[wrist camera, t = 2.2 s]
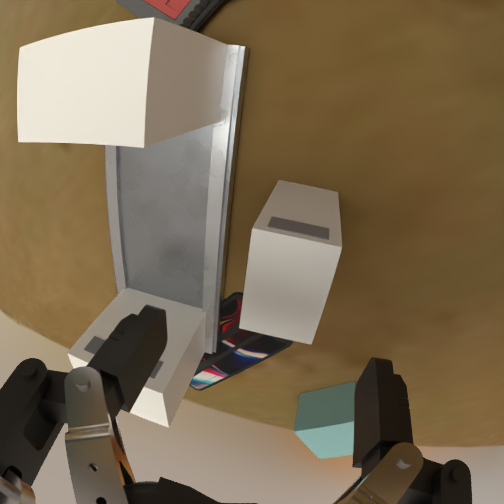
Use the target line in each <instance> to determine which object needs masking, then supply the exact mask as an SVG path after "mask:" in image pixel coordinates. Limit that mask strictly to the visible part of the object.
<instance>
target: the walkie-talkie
mask: <svg viewBox="0 0 504 504" xmlns="http://www.w3.org/2000/svg"><path fill="white" fill-rule="evenodd" d="M223 1H225V0H116V2H117V3H118V4H120V5H121V6H123V7H124V8H126V9H128V10H129V11H131V12H132V13H134V14H135V15H137V16H138V17H140V18H141V19H143V18H152V17H155V18H158V19H161V20H164V21H167V22H170V23H173V24H176V25H179V26H182V27H184V28H187V29H190V30H192V31H195V32H196V31H197V30H199V28H200V27H201V25H202V24H204V23H205V21H206V20H207V18H209V17H210V15H211V14H212V13H213V12H214V11H215V9H216V8H217V7H218V6H220V5H221V3H222V2H223Z"/></svg>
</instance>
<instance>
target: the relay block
mask: <svg viewBox="0 0 504 504" xmlns="http://www.w3.org/2000/svg"><path fill="white" fill-rule="evenodd" d="M355 388H356V383H355V381H353V382H349V383H345V384H341V385H337V386H332V387H328V388H324V389H319V390H314V391H310V392H305V393H300V396H299V403H298V408H297V414H296V420H295V426H294V433H295V434H296V435H297V436H298V437H299V438H300V439H301V440H302V441H303V442H304V443H305V444H306V445H307V447H308V448H309V449H310V450H311V451H312V452H313V453H314V454H315V455H316V456H317V457H318V458H319V459H324V458H331V457H338V456H345V455H351V454H353V445H354V393H355Z"/></svg>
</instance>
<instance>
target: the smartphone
mask: <svg viewBox="0 0 504 504" xmlns="http://www.w3.org/2000/svg"><path fill="white" fill-rule="evenodd" d="M242 302H243V293H240V292H237V293H233V294H232V295H230V296H229V297H228V298H226V299H225V300H224V301H223V303H222V312H221V325H220V338H219V347H218V349H217V351H216V353H215V352H213V353H212V354H210V353H206V352H204V355H203V357H202V359H201V361H200V363H199V365H198V367H197V369H196V371H195V374H194V376H193V378H192V380H191V382H190V384H189V385H190V386H191V387H192V388H194V389H196V390H204V389H206V388H208V387H210V386H213V385H215V384H217V383H219V382H221V381H223V380H225V379H227V378H229V377H231V376H233V375H236V374H238V373H240V372H242V371H244V370H246V369H248V368H250V367H251V366H253V365H255V364H257V363H259V362H261V361H263V360H265V359H267V358H269V357H271V356H273V355H275V354H276V353H278V352H280V351H282V350H284V349H286V348H287V347H289V346H291V344H292V343H293V341H292V340H288V339H283V338H279V337H274V336H270V335H266V334H261V333H257V332H253V331H249V330H245V329H241V328H239V325H240V317H241V309H242Z"/></svg>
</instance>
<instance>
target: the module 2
mask: <svg viewBox="0 0 504 504" xmlns="http://www.w3.org/2000/svg"><path fill="white" fill-rule="evenodd" d="M145 305H151V306H154V307H158V308H161V309H164V310H165V311H166V320H167V334H168V339H167V345H166V348H165V350H164V352H163V354H162V356H161V357H160V359H159V361H158V363H157V364H156V366H155V368H154V370H153V372H152V373H151V375H150V377H149V379H148V380H147V382H146V384H145V386H144V388H143V389H142V391H141V393H140V395H139V396H138V398H137V400H136V402H135V404H134V405H133V407H132V409H131V411H130V413H133V414H135V415H137V416H140V417H142V418H145V419H147V420H150V421H152V422H155V423H157V424H160V425H163V426H166V427H169V426H170V424H171V422H172V420H173V418H174V416H175V414H176V412H177V410H178V407H179V405H180V403H181V401H182V399H183V397H184V395H185V393H186V391H187V388H188V386H189V384H190V382H191V380H192V378H193V376H194V374H195V371H196V369H197V367H198V365H199V363H200V361H201V359H202V357H203V355H204V352H205V323H206V312H202V309H201V308H197V307H193V306H190V305H186V304H182V303H179V302H175V301H172V300H168V299H165V298H161V297H158V296H154V295H151V294H148V293H144V292H141V291H138V290H134V289H131V288H127V289H124V288H123V289H122V291H121V292H120V293H119V294H118V295H117V296H116V297H115V298H114V299H113V301H112V302H111V303H110V304H109V305H108V306H107V307H106V308H105V309H104V311H103V312H102V313H101V314H100V315H99V316H98V317H97V319H96V320H95V321H94V322H93V323H92V324H91V326H90V327H89V328H88V329H87V330H86V331H85V332H84V334H83V335H82V336H81V337H80V338H79V340H78V341H77V342H76V343H75V344H74V345H73V347H72V348H71V349H70V350H69V351H68V356H69V358H70V361H71V363H72V365H73V368H74V369H75V368H77V367H83V366H86V365H87V364H88V363H89V362H90V360H91V359H92V358H93V356H94V355H95V354H96V352H97V351H98V350H99V348H100V347H101V346H102V344H103V343H104V342H105V340H106V339H107V338H109V335H110V334H111V332H112V331H114V329H115V327H116V326H117V325H118V323H119V322H120V321H121V320H122V319H123V318H125V317H127V316H128V315H130V314H132V313H133V314H136V315H138V314H139V313H140V311H141V310H142V309H143V307H144V306H145Z"/></svg>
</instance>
